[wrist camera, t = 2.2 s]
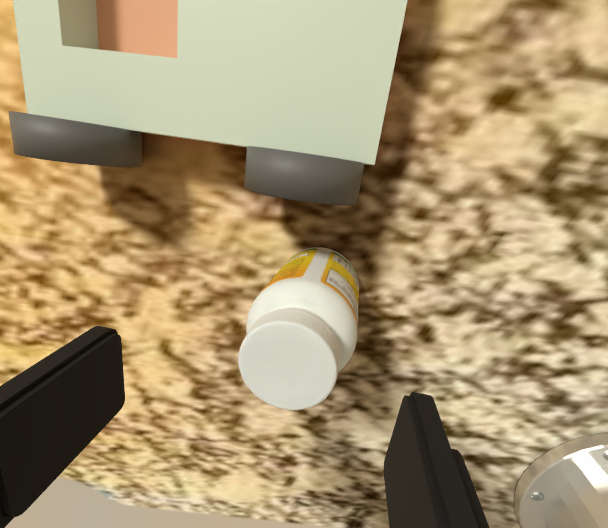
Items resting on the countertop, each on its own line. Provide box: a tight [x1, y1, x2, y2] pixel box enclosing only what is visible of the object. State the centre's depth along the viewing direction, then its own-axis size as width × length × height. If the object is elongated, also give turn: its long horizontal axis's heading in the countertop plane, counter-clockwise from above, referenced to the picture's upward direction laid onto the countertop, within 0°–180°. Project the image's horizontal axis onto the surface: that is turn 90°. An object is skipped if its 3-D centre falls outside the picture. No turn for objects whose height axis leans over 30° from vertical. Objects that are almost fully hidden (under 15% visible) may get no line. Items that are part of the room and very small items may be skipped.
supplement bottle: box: [238, 247, 359, 410], centre depth 17 cm, size 5×5×10 cm
